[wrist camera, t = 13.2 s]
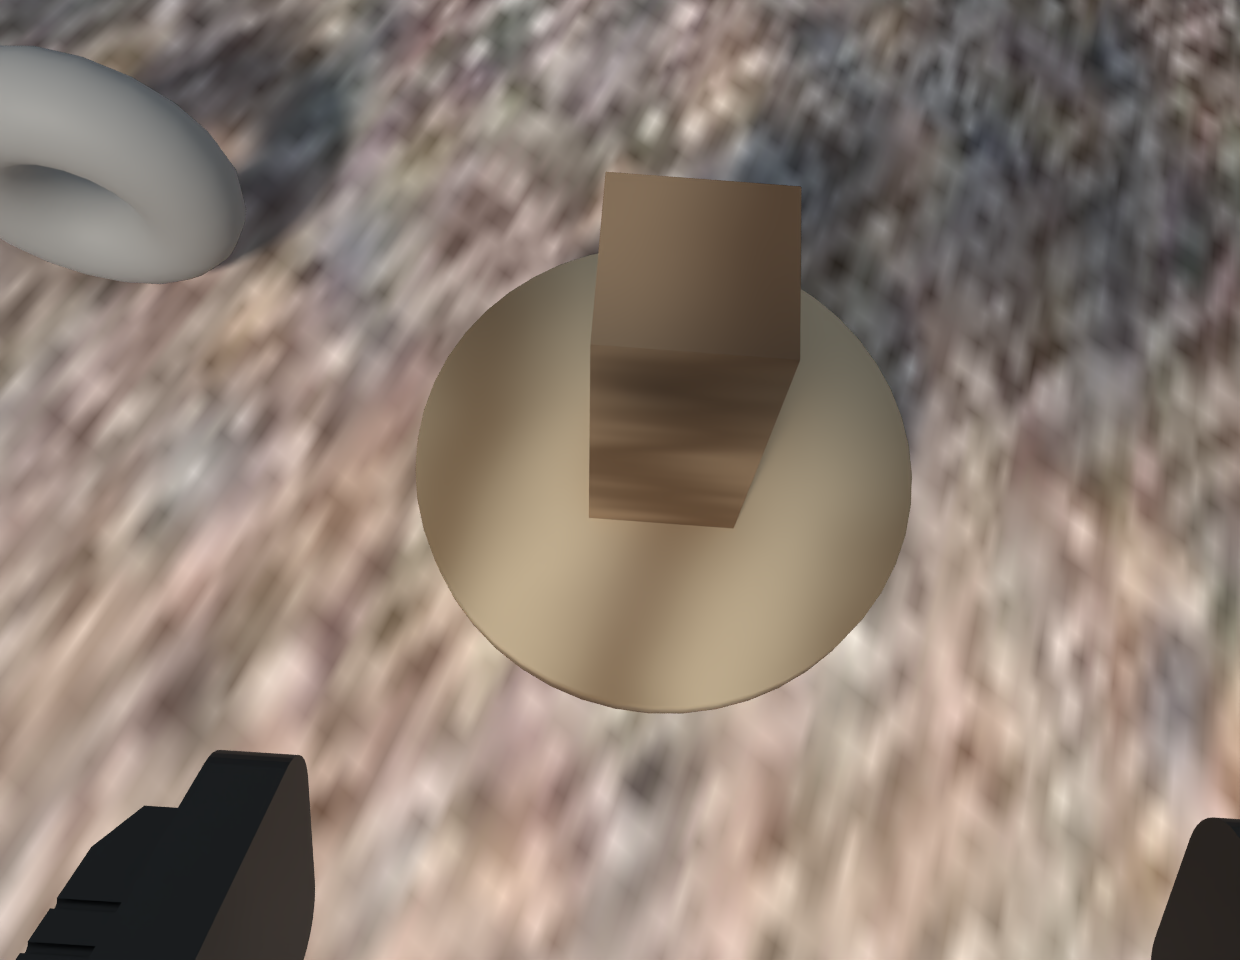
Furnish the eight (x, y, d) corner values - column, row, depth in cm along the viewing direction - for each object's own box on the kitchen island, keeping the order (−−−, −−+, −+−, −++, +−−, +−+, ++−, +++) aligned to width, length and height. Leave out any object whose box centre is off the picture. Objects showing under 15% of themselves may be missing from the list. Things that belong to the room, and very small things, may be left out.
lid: (388, 694, 28) (278, 577, 18) (453, 252, 34) (396, -31, 23) (907, 732, 29) (1087, 637, 18) (893, 285, 34) (1027, 17, 24)
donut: (-4, 285, 38) (-193, 89, 29) (27, 206, 40) (-143, -6, 30) (267, 321, 38) (165, 134, 29) (290, 240, 40) (200, 37, 30)
